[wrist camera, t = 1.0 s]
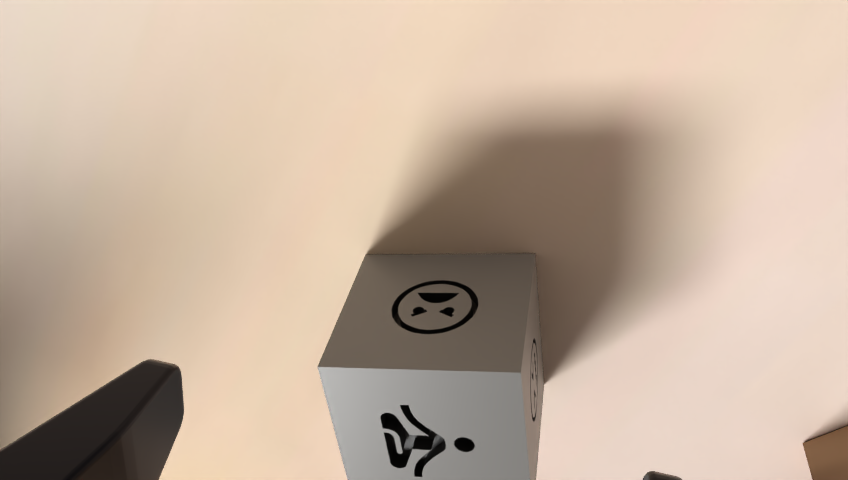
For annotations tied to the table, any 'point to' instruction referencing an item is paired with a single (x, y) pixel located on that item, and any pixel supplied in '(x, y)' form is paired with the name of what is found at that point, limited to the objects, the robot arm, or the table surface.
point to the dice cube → (438, 368)
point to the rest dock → (828, 455)
